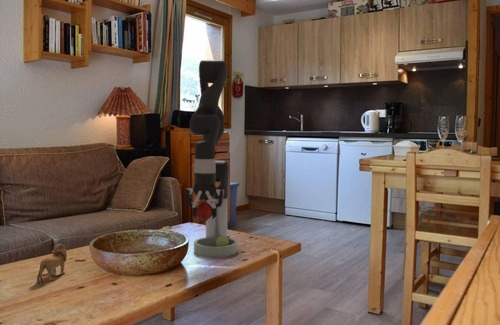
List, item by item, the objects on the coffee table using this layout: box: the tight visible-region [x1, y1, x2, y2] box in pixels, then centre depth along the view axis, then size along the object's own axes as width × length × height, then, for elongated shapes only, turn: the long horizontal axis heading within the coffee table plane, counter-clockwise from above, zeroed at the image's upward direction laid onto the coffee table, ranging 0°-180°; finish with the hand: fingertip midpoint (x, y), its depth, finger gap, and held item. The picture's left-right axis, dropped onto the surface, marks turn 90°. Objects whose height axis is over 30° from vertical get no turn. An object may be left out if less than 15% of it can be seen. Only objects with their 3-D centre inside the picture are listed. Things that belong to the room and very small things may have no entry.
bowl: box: [193, 236, 239, 258], centre depth 163 cm, size 16×16×4 cm
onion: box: [197, 199, 212, 223], centre depth 155 cm, size 6×6×8 cm
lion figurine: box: [36, 243, 68, 285], centre depth 133 cm, size 15×5×9 cm, turn 2°
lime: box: [216, 236, 229, 247], centre depth 165 cm, size 5×5×5 cm
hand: (204, 217), depth 155 cm, fingers closed on onion, 6 cm apart
